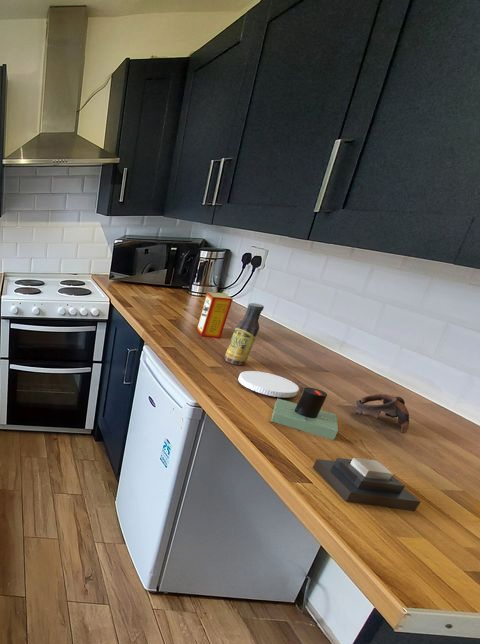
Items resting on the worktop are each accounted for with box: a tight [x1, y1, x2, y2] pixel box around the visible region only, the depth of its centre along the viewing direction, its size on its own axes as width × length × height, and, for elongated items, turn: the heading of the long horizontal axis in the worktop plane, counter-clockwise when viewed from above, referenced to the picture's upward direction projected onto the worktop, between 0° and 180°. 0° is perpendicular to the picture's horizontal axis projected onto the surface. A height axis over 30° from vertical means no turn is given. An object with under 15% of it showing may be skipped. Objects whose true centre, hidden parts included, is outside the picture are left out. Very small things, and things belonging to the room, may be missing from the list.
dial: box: [295, 386, 328, 418], centre depth 96 cm, size 4×4×6 cm
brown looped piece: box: [353, 393, 410, 434], centre depth 100 cm, size 12×10×8 cm
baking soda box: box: [195, 291, 234, 339], centre depth 157 cm, size 10×6×16 cm
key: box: [350, 457, 394, 480], centre depth 75 cm, size 4×4×2 cm
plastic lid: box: [238, 370, 300, 399], centre depth 114 cm, size 14×14×2 cm
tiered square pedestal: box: [312, 457, 421, 512], centre depth 76 cm, size 11×10×4 cm
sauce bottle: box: [224, 302, 265, 366], centre depth 129 cm, size 6×6×20 cm
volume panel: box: [270, 398, 339, 441], centre depth 98 cm, size 12×10×3 cm
